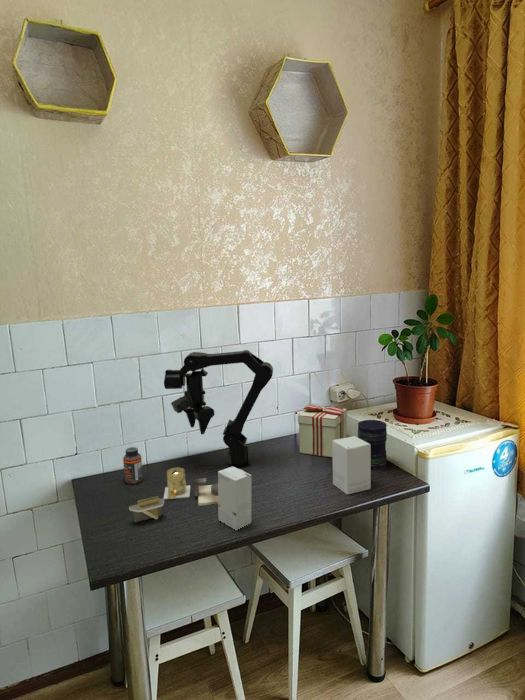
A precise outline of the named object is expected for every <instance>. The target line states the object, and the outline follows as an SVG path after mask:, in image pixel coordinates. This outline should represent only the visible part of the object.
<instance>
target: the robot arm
mask: <svg viewBox="0 0 525 700" xmlns="http://www.w3.org/2000/svg"><path fill="white" fill-rule="evenodd" d="M241 363H242V364H244V365H245V366H246V367H247V368H248V369H249V370H250V371H251V372H253V374H254V378H253V381H252V385H251V387H250V388H249V390H248V393H247V395H246V396H245V399H244V400H243V403H242V404H241V407H240V409H239V410H238V412H237V414H236V417H235V418H234V419H233V420H232V419H229V420H228V421H227V423H226V424H227V425H226V426H225V427H224V430H223V432H222V435H223V437H222V441H223V443H224V444H225V445H226V446H227V447H228V452H227V464H228V465H230V467H232V466H233V467H236V468H238V469H240V468H243V467H246V466H250V465H251V464H252V463H251V462H250V461H249V447H248V446H247V445H246V444H247V441H248V437H247V436H246V435H244V434H243V433H242V432H243V428H244V426H245V423H246V421H247V419H248V418H249V416H250V414H251V412H252V409H253V407H254V405H255V403H256V402H257V399H258V398H259V396H260V393H261V392H262V390H263V389H264V388H265V387H266V385H267V384H268V383H269V382H270V381H271V379H272V377H273V373H274V368H273V364H271V363H269V362H267V361H264V360H262V359H261V358H260V357H258V356H256V355H255V354H254V353H253V352H251V350H248V349H244V350H239V351H237V350H236V351H227V352H220V353H219V352H217V353H206V352H201V351H200V352H199V351H193V352H190V353H189V354H187V356H185V358H184V360H183V365H182V367H181V368H180V369H166V370H165V371H164V373H165V375H164V380H163V386H164V389H165V390H176V389H177V390H181V389H183V386H186V390H184V393H183V394H184V395H183V396H181V397H179V398H177V399H174V400H173V401H172V402H171V403H170V404H171V406H172V409H173V410H174V412H176V413H177V414H180V413H182V412H184V413H185V415H186V417H187V420H188V423H189V425H190V428H195V425H196V420H197V422H198V427H199V432H200V434H201V435H204V434H205V433H206V430H207V428H208V426H209V423H210V421H211V419H212V418H213V417H214V416H215V409H213V408H212V407H210V406H209V405H207V402H206V401H204V395H205V394H206V391H205V390H204V384H203V383H204V382H203V377H207V376H208V374H209V372H207V371H206V370H205V369H204V368H207V367H211V366H212V367H213V366H221V365H222V366H223V365H230V364H231V365H232V364H241ZM189 372H190V373H189Z"/></svg>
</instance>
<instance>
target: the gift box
mask: <svg viewBox="0 0 525 700" xmlns="http://www.w3.org/2000/svg"><path fill="white" fill-rule="evenodd" d="M302 409H303V410H304V411H303V412H302V413H299V415H298V416H297V424H298V433H299V435H298V438H299V453H300V454H304V455H305V454H306V455H310V456H311V455H312V456H319V457H326V458H327V457H328V458H333V456H332V441H333V440H337V439H342V438H347V437H348V436H347V435H348V434H347V433H348V432H347V431H348V430H347V429H348V427H347V425H348V424H347V418H348V408H343V407H339V406H331V407H328V406H320V405H317V404H314V403H313V404H312V403H311V404H309V403H308V404H306V405H305V406H304V407H303V408H302Z"/></svg>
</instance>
